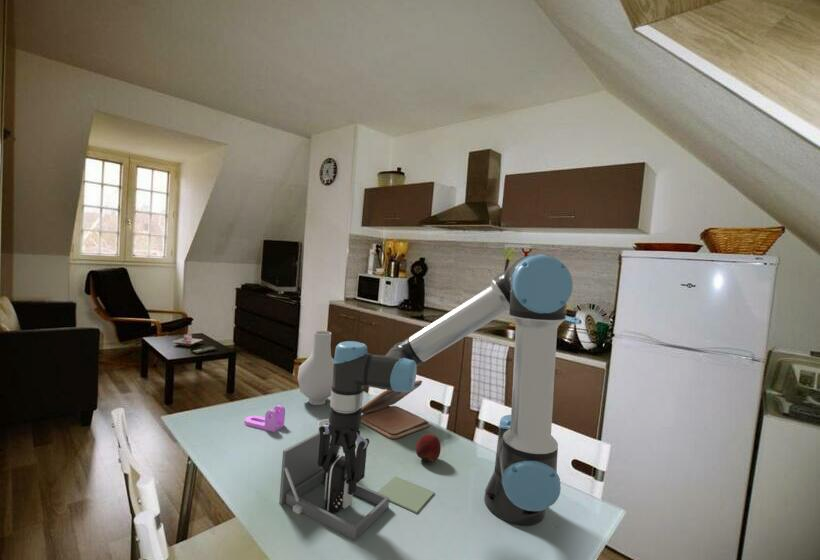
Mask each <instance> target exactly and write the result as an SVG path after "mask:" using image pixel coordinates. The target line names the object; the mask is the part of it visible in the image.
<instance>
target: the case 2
mask: <svg viewBox="0 0 820 560" xmlns="http://www.w3.org/2000/svg"><path fill="white" fill-rule="evenodd" d="M422 383H423V380H421V379H420V380H417V381H416V380H415V384H414V388H413V390H412V391H411V392H395V391H392V390H384V391H382V392H381V393H379V394H378V395H376V396H375V397H374V398H372V399H370V401H368V402H367V403H365V404H364V405H362V407H361V409H362V412H361V423H362V424H363V425H366V426H367V427H369V428H370V429H372V430H375V431H376V432H378V433H380V434H381V435H383V436H384V437H387V438H389V439H392V440H396V439H400V438H402V437H406V436H408V435H410V434H413V433H416V432H419V431H421V430H424V429H426V428H429V427H430V423H429V421H428V420H426V419H424V418H421V417H420V416H417V414H414V413H412V412H410V411H408V410H405V409H404V408H402V407H400V406H397V405H396V403H398V402H400V401H401V400H402V399H404V398H405V397H407V396H408V395H409V394H410V393H412V392H414V390H416V389H418V388H419V387H420V386H421V385H422Z"/></svg>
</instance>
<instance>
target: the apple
mask: <svg viewBox="0 0 820 560" xmlns="http://www.w3.org/2000/svg"><path fill="white" fill-rule="evenodd" d="M441 447H442V446H441V441H440V439H439V438H438V437H437V436H436V435H435V434H431V433H426V434H423V435H422V436H421V437H420V438H419V439H418V441H417V443H416V447H415V452H416V455H417V457H418V458H420V459H421V460H423V462H435V461H436V460H437V459H438V458H439V457H440V454H441Z"/></svg>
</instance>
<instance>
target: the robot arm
mask: <svg viewBox="0 0 820 560" xmlns="http://www.w3.org/2000/svg"><path fill="white" fill-rule="evenodd" d="M573 286H574V281H573V277H572V274H571V272H570V270H569V268H568V267H567V266H566V264H564V262H563V261H561V260H560V259H558V258H556V257H554V256H552V255H550V254H543V253H539V254H531V255H525V256H523V257H521V258H519V259H518V260H516V261H515V262H513V264H511V265H510V266H509V267H508V268H506V269H505V270H504V271H503V272H502V273H500V274H499V275H498V276H496V277H495V278H493V279H492V280H491V283H490V285H489V286H487V287H486V288H485V289H483V290H481V291H480V292H479V293H477V294H475V295H474V296H472V297H470V298H469V299H467V300H466V301H464V302H463V303H461V304H459V305H458V306H456V307H454V308H453V309H451V310H450V311H449V312H446V313H445V314H444V315H442V316H440V317H439V318H437V319H436V320H434V321H433V322H431V323H430V324H428V325H426V326H425V327H423V328H422V329H420V330H419V331H416V332H415V333H413V334H412V335H410V336H409V337H408V338H406V339H404V340H403V341H401V342H398V343H396V344H394V345H393V346H392V347H391V348H390V349H389V351H388V352H387V353H386V354H385V355H381V354H380V355H379V354H374V353H373V354H372V353H369V351H368V346H367V345H366V343H363V342H360V341H353V340H352V341H351V340H346V341H341V342H339V343H338V344H336V346H335V350H334V358H333V359H334V361H333V379H332V390H331V396H330V403H329V405H330V407H329V415H328V419H329V423H330V424H325V425H323V426H321V427H319V432H320V444H319V456H318V466H322V467H323V470H324V481H323V483H324V484H325V485H324V495H323V496H324V497H323V499H324V500H326V488H327V476H328V469H329V466H330V464H331V463H332V462H333V460H334V459H335V458H336V457H337V453H338V450H339V451H340V449H339V447H340V446H341V448H342V453H343V454H344V456H345V460H346V468H347V477H348V479H347V480H346V481H345V484H344V495H343V505H342V507H341V508H342V509H347V508H348V507H350V505H352V503H353V496H354V494H353V493H355V491H356V483H357V484H359V482H361V480H363V479H364V478H365V474H366V462H367V450H368V449H367V448H368V446H369V444H370V439H369V438H367V437H366V438H363V437H362V436H361V432H360V425H361V423H362V422H361V415H362V413H361V412H362V409H361V407H363V398H364V387H367V388H368V387H369V388H375V389H380V390H384V391H386V390H392V391H395V392H410V393H412V392H413V391H414V390H413V388H414V384H415V381H416V378H417V371H418V370H417V369H418V368H417V367H419V366H421V365H422V364H424V363H425V362H426V361H428V360H429V359H431V358H432V357H435V356H436V355H437V354H439V353H440V352H442V351H444V350H446V349H447V348H449V347H451V346H452V345H454V344H455V343H457V342H458V341H461V340H463V339H464V338H466V337H467V336H469V335H470V334H473V332H476V331H477V330H479V329H480V328H483V326H486V325H487V324H488V323H490V322H492V321H494V320H495V319H497V318H498V317H500V316H502V315H503V314H505V313H506V312H509V314H508V315H509V317H510V318H511V319H512V320H513V321H514V323H515V333H514V334H515V336H514V353H513V354H514V356H513V357H514V358H513V375H512V392H511V393H512V395H511V396H512V397H511V410H510V411H511V412H510V413H511V414H507V415H504V416H501V418H500V421H499V425H498V437H497V442H496V443H497V445H496V454H495V463H494V470H493V472H492V475H491V477H490V478H489V481H488V483H487V485H486V487H485V490H484V497H483V498H484V499H483V500H484V504H485V506H486V508H487V509H488V511H490V513H492V514H493V515H494V516H495V517H497V518H498V519H501V520H503V521H505V522H508V523H511V524H515V525H518V526H519V525H520V526H532V525H536V524H539V523H540V522H541V521H543V520H544V517H545V513H546V512H545V511H546V509H548V508H549V507H551V506H553V505H554V504H555V503H556V502H557V501H558V500H559V498H560V495H561V488H562V487H561V483H562V482H561V478H560V476H559V473H558V471H557V469H558V454H559V453H558V448H559V443H558V441H557V439H556V438H555V437H554V436H553V435H552V425H553V424H552V423H553V422H552V421H553V409H554V407H553V406H554V393H555V392H554V390H555V388H554V387H555V372H556V358H557V356H556V353H557V339H558V327H559V326H560V325H561V324H562V323H563V322H565V321H566V317H567V314H566V313H567V303H568V301H569V300H570V297H571V296H572V293H573V289H574V287H573ZM412 390H413V391H412ZM411 391H412V392H411ZM330 434H331V436H332V438H331V441H330ZM329 446H330V448H329Z"/></svg>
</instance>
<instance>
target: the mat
mask: <svg viewBox="0 0 820 560" xmlns="http://www.w3.org/2000/svg"><path fill="white" fill-rule="evenodd" d="M377 492H378V493H380V494H382V495H384V496H387V497H389V503H392V504H394V505H397V506H399V507H401V508H403V509H406V510H408V511H410V512H412V513H414V514H418V513H419V512H420V511H421V509H422V508H423V507H424V506H425V505H426V504H427V503H428V501H430V500H431V498H432V497H433V495H434V494H435V491H433V490H430V489H428V488H426V487H423V486H420V485H419V484H416V483H414V482H411V481H409V480H406V479H403V478H401V477H399V476H398V475H397V476H396V475H395V476H394V477H393V478H392V479H390V480H389V481H388V482H387V483H386V484H384V485H383V486H382V487H381V488H380V489H379V490H378V491H377Z"/></svg>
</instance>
